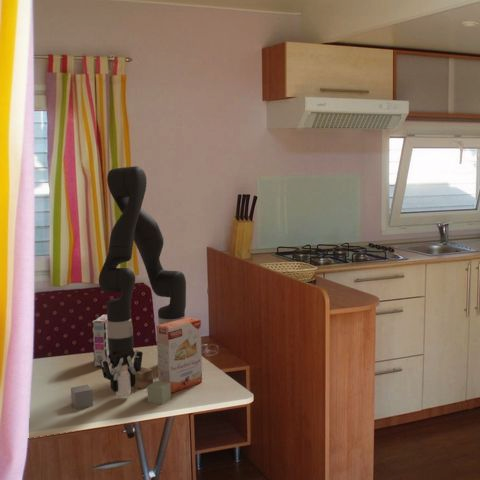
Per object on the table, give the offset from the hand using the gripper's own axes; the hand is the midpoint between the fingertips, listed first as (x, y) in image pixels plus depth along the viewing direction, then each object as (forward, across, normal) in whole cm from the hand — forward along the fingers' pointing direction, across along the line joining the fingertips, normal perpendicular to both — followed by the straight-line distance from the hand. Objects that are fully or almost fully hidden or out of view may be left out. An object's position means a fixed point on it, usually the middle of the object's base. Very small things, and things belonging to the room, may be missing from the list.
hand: (123, 388), depth 201 cm
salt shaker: (+2, 0, 0) cm, 2 cm away
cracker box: (+4, -19, +4) cm, 19 cm away
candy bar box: (+4, -16, -36) cm, 39 cm away
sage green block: (+3, -7, +9) cm, 12 cm away
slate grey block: (+3, +11, -5) cm, 13 cm away
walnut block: (+3, -11, -6) cm, 13 cm away
